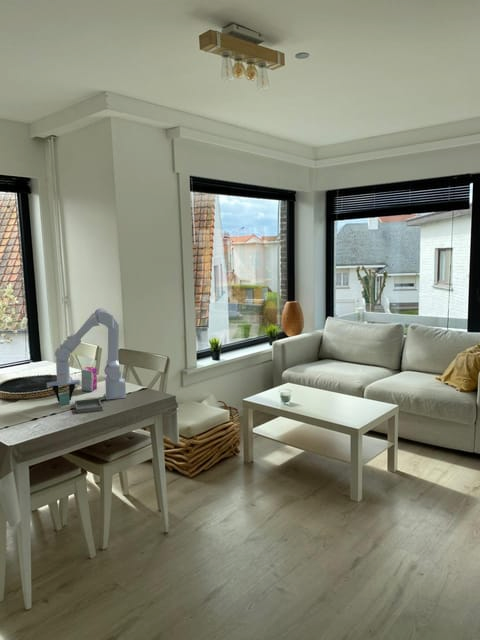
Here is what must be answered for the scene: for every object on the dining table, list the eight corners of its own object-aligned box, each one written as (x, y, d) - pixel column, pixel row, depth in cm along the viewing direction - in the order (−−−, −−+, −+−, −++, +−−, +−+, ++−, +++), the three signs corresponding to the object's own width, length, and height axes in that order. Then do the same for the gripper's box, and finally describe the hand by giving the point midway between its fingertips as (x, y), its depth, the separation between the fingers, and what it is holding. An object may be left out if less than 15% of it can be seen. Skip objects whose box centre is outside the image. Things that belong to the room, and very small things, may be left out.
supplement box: (92, 392, 246) (91, 370, 244) (81, 391, 247) (80, 369, 245) (97, 388, 251) (96, 367, 249) (87, 387, 252) (86, 366, 250)
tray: (99, 402, 232) (99, 398, 232) (102, 410, 222) (102, 406, 222) (74, 404, 228) (74, 400, 227) (76, 413, 218) (76, 409, 217)
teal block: (69, 401, 233) (68, 392, 232) (69, 404, 229) (69, 395, 228) (59, 402, 231) (58, 393, 230) (59, 405, 227) (59, 396, 226)
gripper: (78, 369, 233) (79, 396, 236) (46, 371, 228) (47, 399, 230) (79, 373, 227) (80, 400, 229) (46, 376, 221) (48, 404, 224)
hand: (64, 400), depth 229 cm, fingers closed on teal block, 4 cm apart
